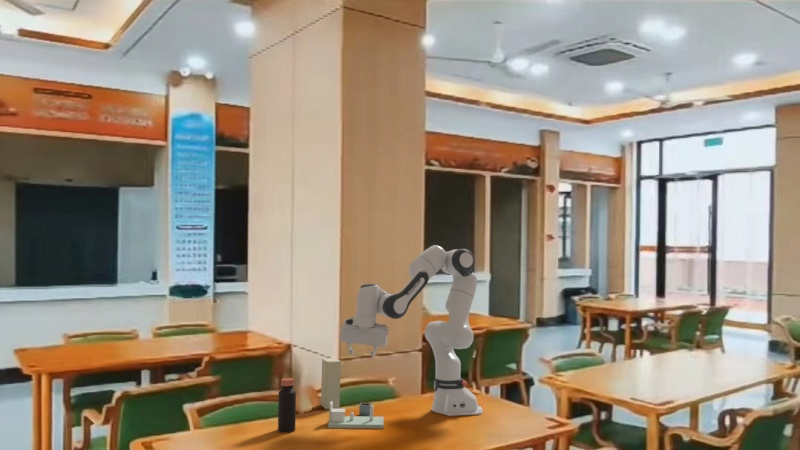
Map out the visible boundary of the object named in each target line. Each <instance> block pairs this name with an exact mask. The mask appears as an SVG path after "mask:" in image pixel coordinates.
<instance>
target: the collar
mask: <svg viewBox="0 0 800 450" xmlns="http://www.w3.org/2000/svg"><path fill="white" fill-rule="evenodd" d="M370 405H372V402H359V407H358V409H359V411H358V412H359V414H358V416H370Z"/></svg>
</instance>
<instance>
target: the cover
mask: <svg viewBox="0 0 800 450" xmlns="http://www.w3.org/2000/svg"><path fill="white" fill-rule="evenodd" d="M328 410H329V412H328V413H329V416H328V417H329V419H328V422H329V421H335V422H344V419H345V416H346V408H334V409H333V401H331V402H330V408H329V409H328Z"/></svg>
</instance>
